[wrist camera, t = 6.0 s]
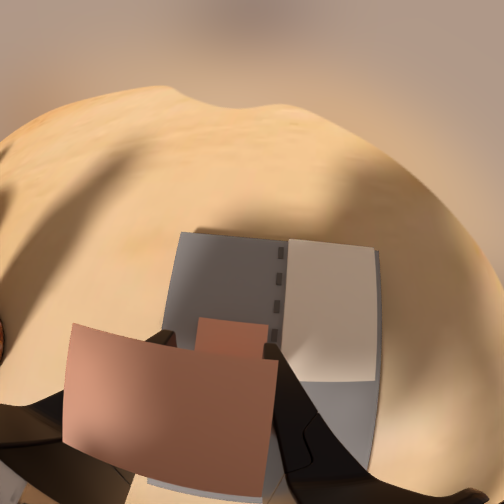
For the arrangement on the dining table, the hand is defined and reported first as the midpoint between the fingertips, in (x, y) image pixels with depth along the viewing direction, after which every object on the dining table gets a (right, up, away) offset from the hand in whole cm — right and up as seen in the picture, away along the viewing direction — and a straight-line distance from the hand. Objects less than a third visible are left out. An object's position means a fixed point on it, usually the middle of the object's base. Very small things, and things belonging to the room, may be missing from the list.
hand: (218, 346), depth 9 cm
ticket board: (+2, -4, +5) cm, 7 cm away
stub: (0, -3, +4) cm, 5 cm away
